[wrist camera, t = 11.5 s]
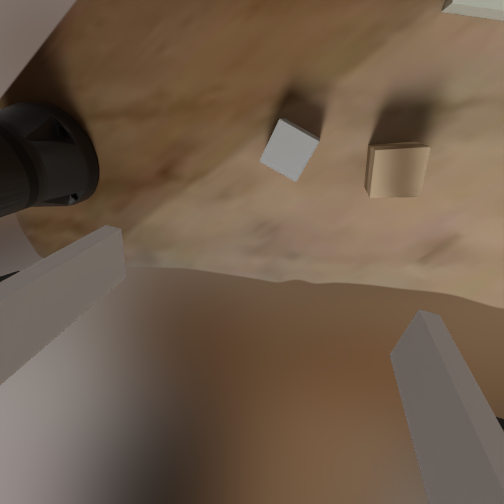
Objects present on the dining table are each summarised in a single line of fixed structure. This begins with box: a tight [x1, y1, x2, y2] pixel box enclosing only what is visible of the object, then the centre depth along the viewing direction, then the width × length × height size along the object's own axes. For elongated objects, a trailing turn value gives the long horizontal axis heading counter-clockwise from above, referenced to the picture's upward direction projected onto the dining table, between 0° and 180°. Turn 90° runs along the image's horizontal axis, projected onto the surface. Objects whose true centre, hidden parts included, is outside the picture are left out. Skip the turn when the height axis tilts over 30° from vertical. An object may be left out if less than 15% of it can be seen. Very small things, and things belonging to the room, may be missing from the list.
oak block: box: [364, 141, 431, 198], centre depth 30 cm, size 5×5×5 cm
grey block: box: [260, 118, 320, 182], centre depth 32 cm, size 5×5×4 cm
